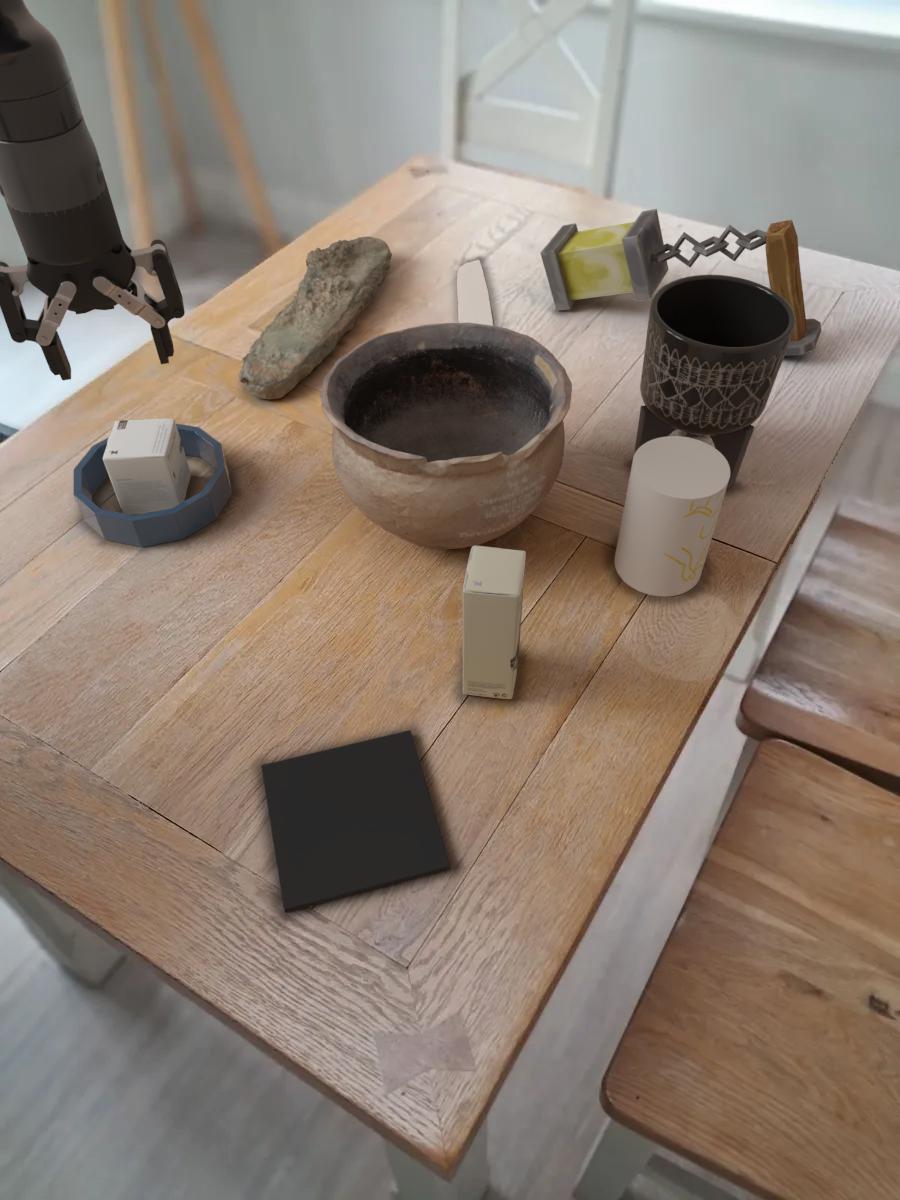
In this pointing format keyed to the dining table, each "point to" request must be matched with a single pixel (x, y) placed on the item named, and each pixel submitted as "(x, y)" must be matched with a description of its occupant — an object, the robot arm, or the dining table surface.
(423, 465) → the ceramic bowl
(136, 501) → the product carton
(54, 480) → the dining table surface
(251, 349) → the long grey stone
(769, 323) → the planter
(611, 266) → the lantern
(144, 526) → the faceted polygonal ring
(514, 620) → the box
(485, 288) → the knife
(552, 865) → the dining table surface
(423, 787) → the coaster
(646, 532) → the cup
